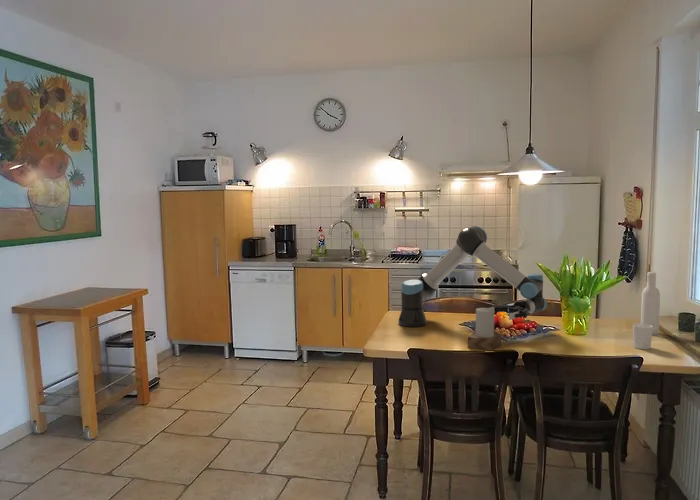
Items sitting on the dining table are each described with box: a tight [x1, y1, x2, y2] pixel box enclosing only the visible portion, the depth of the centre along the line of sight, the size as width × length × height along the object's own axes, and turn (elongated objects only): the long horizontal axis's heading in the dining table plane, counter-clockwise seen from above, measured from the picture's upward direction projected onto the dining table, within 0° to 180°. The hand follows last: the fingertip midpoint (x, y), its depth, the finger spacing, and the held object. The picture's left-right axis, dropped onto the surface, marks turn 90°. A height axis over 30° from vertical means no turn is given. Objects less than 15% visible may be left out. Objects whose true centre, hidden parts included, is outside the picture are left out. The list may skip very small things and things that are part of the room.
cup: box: [475, 307, 495, 338], centre depth 239 cm, size 8×8×12 cm
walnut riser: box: [467, 330, 502, 351], centre depth 239 cm, size 12×12×5 cm
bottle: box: [640, 271, 661, 336], centre depth 255 cm, size 8×8×30 cm
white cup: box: [632, 322, 653, 350], centre depth 232 cm, size 8×8×10 cm
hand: (497, 314), depth 245 cm, fingers open, 13 cm apart
